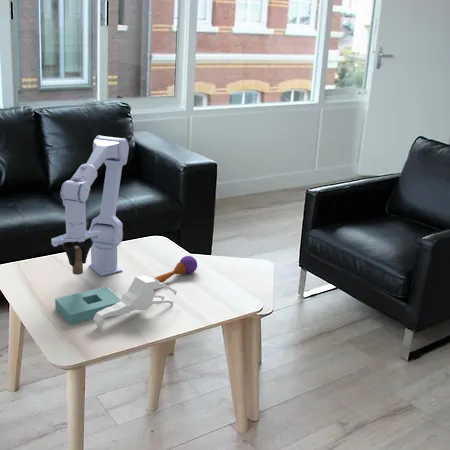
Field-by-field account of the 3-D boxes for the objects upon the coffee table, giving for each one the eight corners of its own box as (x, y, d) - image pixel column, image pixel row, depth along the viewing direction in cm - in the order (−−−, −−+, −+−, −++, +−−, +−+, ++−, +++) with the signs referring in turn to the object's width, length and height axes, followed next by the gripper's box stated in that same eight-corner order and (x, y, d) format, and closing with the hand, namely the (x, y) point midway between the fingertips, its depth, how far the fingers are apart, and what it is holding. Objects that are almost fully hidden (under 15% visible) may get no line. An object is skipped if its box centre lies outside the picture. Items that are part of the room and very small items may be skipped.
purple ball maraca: (142, 274, 200) (186, 252, 213) (146, 291, 201) (189, 268, 215) (155, 277, 196) (199, 254, 210) (159, 294, 197) (202, 271, 211)
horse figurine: (152, 328, 194) (86, 325, 175) (169, 278, 192) (104, 269, 174) (163, 335, 190) (96, 332, 172) (180, 283, 189) (115, 275, 170)
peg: (71, 271, 190) (70, 247, 187) (80, 269, 192) (79, 245, 189) (75, 275, 188) (74, 250, 185) (84, 273, 190) (83, 248, 187)
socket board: (55, 307, 184) (55, 298, 183) (106, 295, 193) (105, 286, 192) (70, 324, 176) (70, 315, 175) (122, 310, 185) (122, 301, 184)
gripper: (57, 229, 177) (59, 273, 182) (104, 221, 185) (105, 263, 190) (47, 221, 182) (50, 264, 187) (94, 213, 190) (95, 255, 195)
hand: (77, 263), depth 189 cm, fingers closed on peg, 3 cm apart
